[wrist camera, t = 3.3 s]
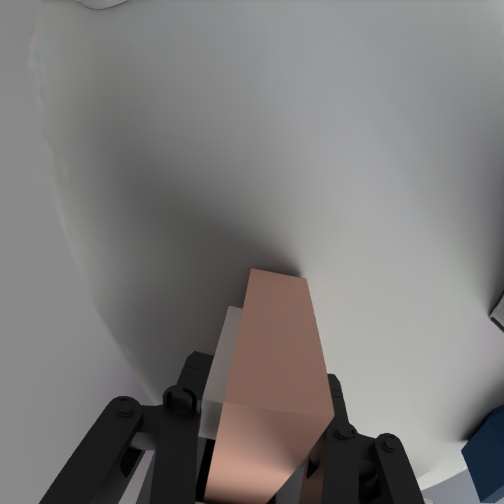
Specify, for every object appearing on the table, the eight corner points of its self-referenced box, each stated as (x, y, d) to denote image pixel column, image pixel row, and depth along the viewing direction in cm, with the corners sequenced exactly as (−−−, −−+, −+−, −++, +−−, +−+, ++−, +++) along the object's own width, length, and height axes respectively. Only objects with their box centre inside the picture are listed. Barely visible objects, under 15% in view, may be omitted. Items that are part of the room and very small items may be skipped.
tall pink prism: (250, 267, 15) (222, 402, 6) (306, 278, 15) (335, 415, 6) (217, 433, 20) (198, 521, 12) (251, 439, 20) (241, 528, 12)
